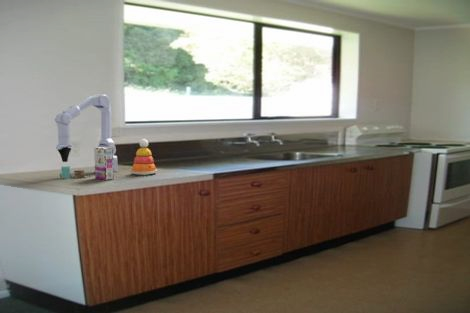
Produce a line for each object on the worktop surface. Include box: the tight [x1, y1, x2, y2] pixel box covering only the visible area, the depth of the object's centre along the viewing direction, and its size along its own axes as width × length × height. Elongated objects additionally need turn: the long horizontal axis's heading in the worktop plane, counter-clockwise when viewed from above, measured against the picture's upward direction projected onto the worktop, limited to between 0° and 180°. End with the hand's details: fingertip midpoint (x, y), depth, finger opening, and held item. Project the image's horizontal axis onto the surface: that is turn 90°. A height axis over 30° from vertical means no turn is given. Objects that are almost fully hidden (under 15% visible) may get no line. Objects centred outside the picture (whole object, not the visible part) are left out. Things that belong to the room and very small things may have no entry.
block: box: [61, 165, 71, 179], centre depth 258 cm, size 4×4×6 cm
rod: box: [69, 172, 75, 179], centre depth 260 cm, size 6×2×2 cm, turn 96°
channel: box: [73, 169, 85, 179], centre depth 260 cm, size 5×7×3 cm
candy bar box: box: [93, 146, 115, 181], centre depth 252 cm, size 11×5×16 cm, turn 45°
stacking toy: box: [130, 138, 158, 176], centre depth 268 cm, size 14×14×20 cm
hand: (65, 161), depth 257 cm, fingers closed
